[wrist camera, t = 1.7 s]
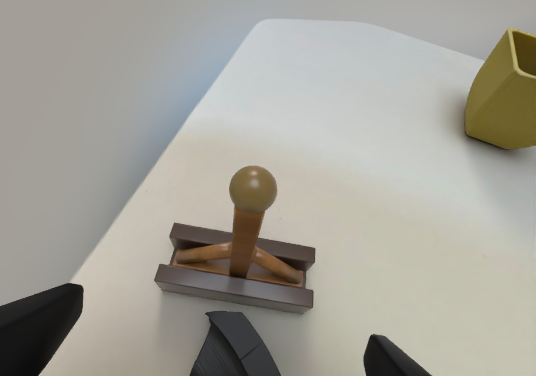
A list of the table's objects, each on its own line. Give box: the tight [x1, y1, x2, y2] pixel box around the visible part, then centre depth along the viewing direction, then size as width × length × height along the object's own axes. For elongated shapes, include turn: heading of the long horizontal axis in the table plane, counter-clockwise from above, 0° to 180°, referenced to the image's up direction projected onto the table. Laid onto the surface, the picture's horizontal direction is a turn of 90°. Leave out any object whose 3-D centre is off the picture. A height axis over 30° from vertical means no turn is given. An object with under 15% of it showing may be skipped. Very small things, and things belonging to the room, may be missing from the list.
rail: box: [154, 223, 315, 314], centre depth 20 cm, size 4×10×3 cm, turn 82°
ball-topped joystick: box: [173, 166, 303, 288], centre depth 15 cm, size 2×9×13 cm, turn 83°
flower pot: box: [465, 28, 536, 149], centre depth 30 cm, size 9×9×9 cm
